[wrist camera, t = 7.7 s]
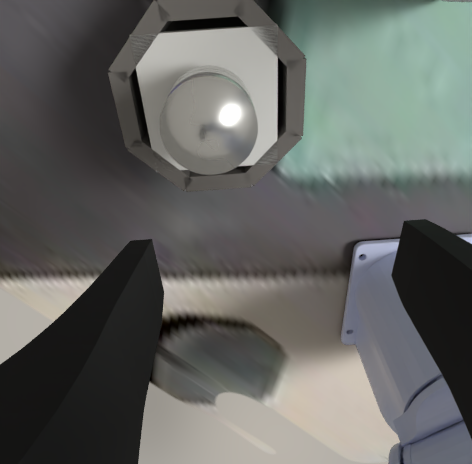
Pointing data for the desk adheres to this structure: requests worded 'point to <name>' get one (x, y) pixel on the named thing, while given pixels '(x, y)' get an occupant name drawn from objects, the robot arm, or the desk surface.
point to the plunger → (209, 121)
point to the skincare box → (458, 0)
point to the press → (209, 54)
